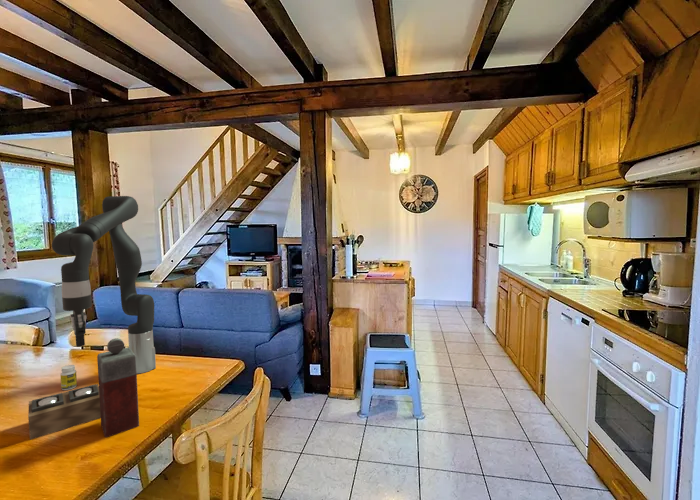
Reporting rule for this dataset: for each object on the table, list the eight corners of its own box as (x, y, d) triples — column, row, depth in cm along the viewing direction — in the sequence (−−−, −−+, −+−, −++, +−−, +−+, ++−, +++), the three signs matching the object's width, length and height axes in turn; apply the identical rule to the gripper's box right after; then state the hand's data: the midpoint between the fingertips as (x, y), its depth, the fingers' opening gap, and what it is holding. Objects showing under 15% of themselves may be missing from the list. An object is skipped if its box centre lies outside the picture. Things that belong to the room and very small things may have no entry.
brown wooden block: (98, 403, 124) (97, 381, 123) (103, 416, 115) (102, 393, 114) (30, 422, 112) (28, 398, 111) (29, 439, 103) (28, 413, 102)
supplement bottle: (68, 391, 132) (66, 369, 132) (58, 390, 133) (56, 368, 133) (80, 385, 137) (78, 364, 136) (70, 384, 138) (69, 363, 137)
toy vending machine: (132, 411, 118) (128, 331, 116) (139, 426, 110) (135, 339, 107) (100, 421, 112) (95, 337, 110) (105, 437, 104) (99, 346, 101)
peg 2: (92, 405, 119) (90, 386, 119) (93, 411, 116) (92, 391, 115) (75, 410, 116) (74, 391, 116) (76, 415, 113) (75, 395, 112)
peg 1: (57, 415, 113) (56, 395, 113) (58, 421, 110) (57, 400, 109) (39, 420, 110) (38, 400, 110) (39, 426, 107) (38, 405, 106)
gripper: (93, 295, 111) (97, 348, 113) (88, 289, 121) (91, 338, 123) (63, 299, 106) (67, 354, 108) (60, 292, 116) (64, 343, 118)
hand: (80, 345), depth 115 cm, fingers closed
